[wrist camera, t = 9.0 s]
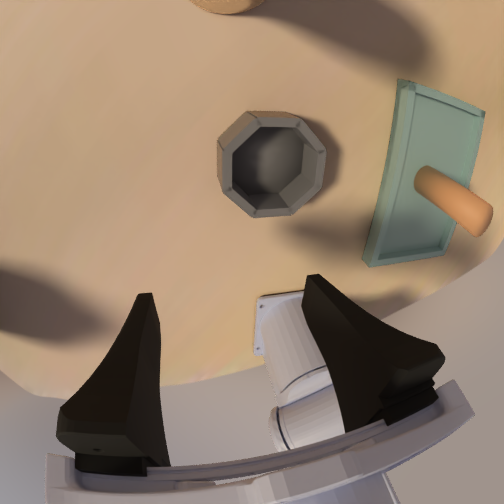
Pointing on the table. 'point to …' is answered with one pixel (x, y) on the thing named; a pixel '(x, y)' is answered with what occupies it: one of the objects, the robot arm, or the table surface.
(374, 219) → the tray
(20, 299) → the table surface
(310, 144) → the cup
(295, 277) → the table surface
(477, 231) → the dowel
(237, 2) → the beer glass
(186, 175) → the table surface
